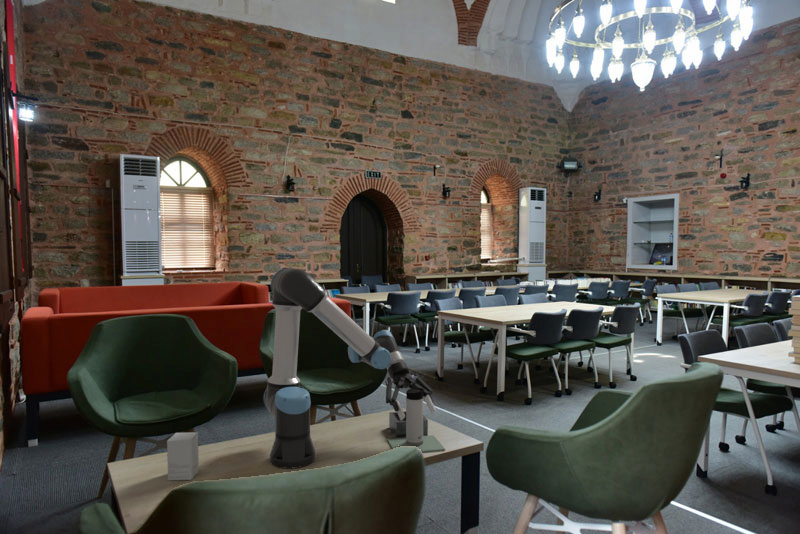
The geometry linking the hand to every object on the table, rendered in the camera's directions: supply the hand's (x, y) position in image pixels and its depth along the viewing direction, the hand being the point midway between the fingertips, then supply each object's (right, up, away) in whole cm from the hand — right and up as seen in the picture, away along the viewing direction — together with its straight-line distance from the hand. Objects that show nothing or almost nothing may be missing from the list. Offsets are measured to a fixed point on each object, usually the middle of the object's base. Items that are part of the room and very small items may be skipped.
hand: (418, 415), depth 190 cm
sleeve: (-4, -11, +16) cm, 20 cm away
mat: (-1, -11, +1) cm, 12 cm away
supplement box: (-75, -12, -25) cm, 80 cm away
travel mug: (-1, -11, +2) cm, 11 cm away
